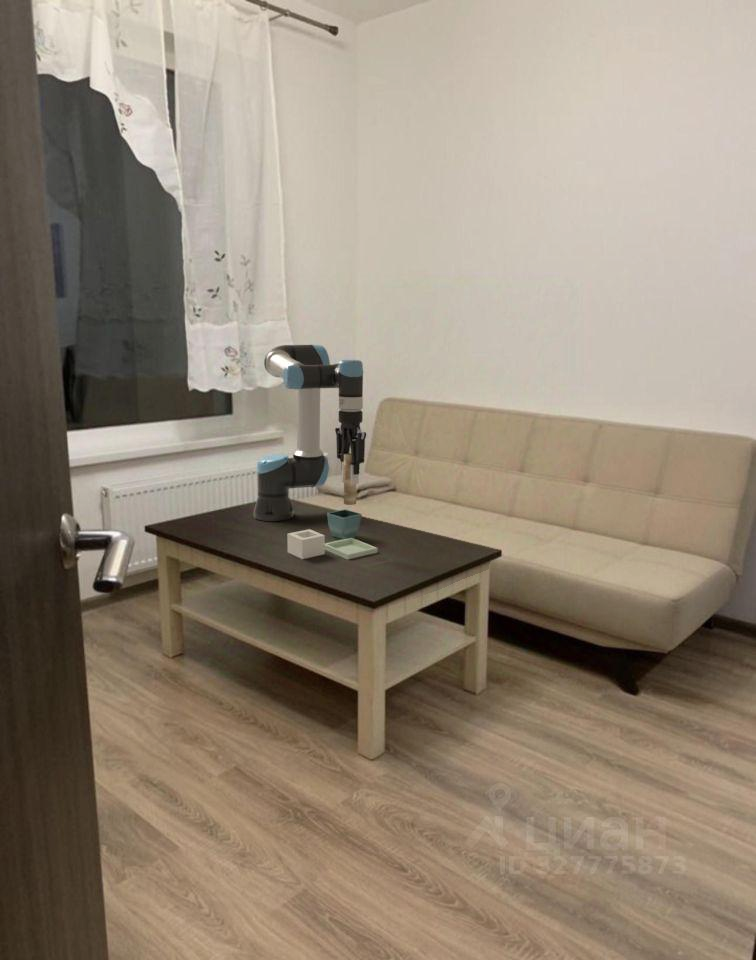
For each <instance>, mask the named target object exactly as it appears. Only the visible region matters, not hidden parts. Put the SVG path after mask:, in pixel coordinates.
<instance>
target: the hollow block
mask: <svg viewBox="0 0 756 960" xmlns="http://www.w3.org/2000/svg"><path fill="white" fill-rule="evenodd" d="M286 535H287V536H286V537H287V539H286V541H287V542H286V543H287V553H288V554H291V555H293V556H295V557H297V558H299V559H301V560H304V559H305V560H306V559H309V558H313V557H318V556H322V555H325V554H326V550H325V543H326V540H325V537H326V535H324V534H322V533H320V532H317V531H315V530H312V529H310V528H308V529H305V530H300V531H294V532H290V533H287V534H286Z"/></svg>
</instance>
